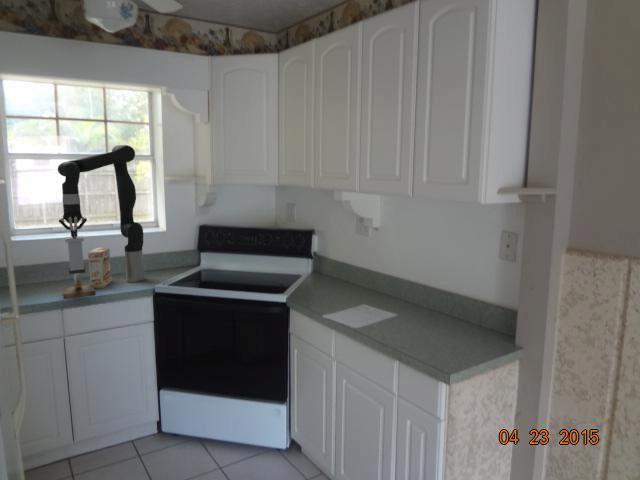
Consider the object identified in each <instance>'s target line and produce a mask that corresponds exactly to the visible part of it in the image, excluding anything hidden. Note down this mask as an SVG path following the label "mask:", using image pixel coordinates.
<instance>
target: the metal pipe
mask: <svg viewBox="0 0 640 480" xmlns="http://www.w3.org/2000/svg"><path fill="white" fill-rule="evenodd" d="M73 279H74V287H75V290H82V286H83V282H82V281H83V280H82V273H75V274H73Z"/></svg>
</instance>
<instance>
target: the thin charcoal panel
mask: <svg viewBox="0 0 640 480" xmlns="http://www.w3.org/2000/svg"><path fill="white" fill-rule="evenodd" d="M68 272H69V273H68V274H69V275H74V274H75V273H81V274H83V273H86V267H85V266H84V269H83V270H73V271H70V267H69V268H68Z"/></svg>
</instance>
